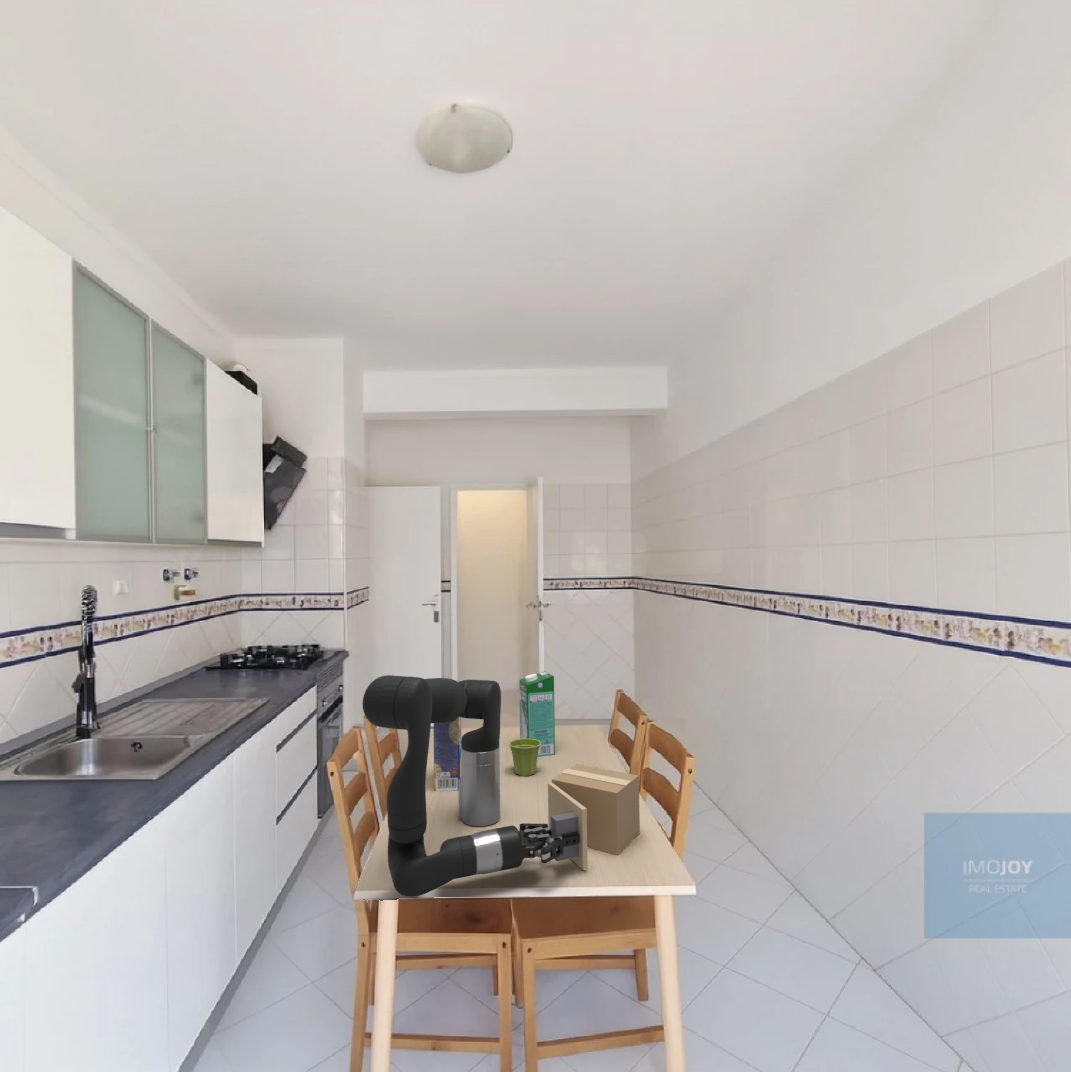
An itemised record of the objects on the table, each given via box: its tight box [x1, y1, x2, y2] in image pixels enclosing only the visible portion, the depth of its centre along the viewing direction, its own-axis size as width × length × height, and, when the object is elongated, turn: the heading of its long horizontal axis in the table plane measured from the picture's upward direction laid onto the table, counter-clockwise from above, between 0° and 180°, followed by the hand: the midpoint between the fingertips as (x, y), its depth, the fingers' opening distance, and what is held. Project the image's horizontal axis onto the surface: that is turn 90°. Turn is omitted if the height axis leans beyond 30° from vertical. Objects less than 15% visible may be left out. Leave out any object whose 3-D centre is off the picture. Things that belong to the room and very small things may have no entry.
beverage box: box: [433, 717, 462, 792], centre depth 174 cm, size 7×11×22 cm, turn 4°
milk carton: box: [518, 670, 556, 757], centre depth 201 cm, size 9×9×25 cm
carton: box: [551, 763, 641, 856], centre depth 141 cm, size 16×12×13 cm
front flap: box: [547, 782, 589, 871], centre depth 131 cm, size 16×6×12 cm, turn 24°
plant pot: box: [508, 738, 541, 777], centre depth 182 cm, size 9×9×9 cm
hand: (574, 834), depth 127 cm, fingers closed on front flap, 2 cm apart
